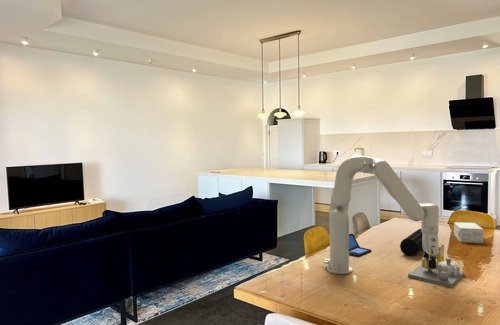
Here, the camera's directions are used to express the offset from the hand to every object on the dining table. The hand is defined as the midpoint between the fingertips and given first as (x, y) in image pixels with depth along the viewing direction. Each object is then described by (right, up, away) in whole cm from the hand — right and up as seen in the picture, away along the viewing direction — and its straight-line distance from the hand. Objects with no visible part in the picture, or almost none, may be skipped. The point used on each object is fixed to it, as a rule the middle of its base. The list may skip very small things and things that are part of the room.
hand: (429, 265), depth 178 cm
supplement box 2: (+55, 0, +61) cm, 82 cm away
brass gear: (0, -1, 0) cm, 1 cm away
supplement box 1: (+10, -4, +13) cm, 17 cm away
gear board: (+2, -5, -2) cm, 6 cm away
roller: (+14, -2, +43) cm, 46 cm away
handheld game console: (-25, -4, +39) cm, 46 cm away
